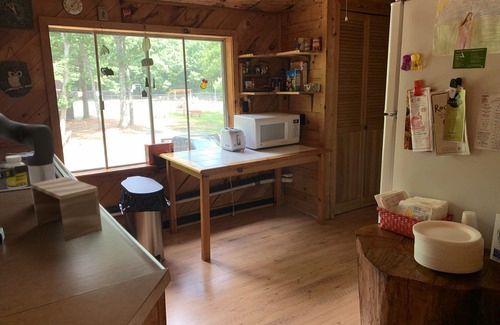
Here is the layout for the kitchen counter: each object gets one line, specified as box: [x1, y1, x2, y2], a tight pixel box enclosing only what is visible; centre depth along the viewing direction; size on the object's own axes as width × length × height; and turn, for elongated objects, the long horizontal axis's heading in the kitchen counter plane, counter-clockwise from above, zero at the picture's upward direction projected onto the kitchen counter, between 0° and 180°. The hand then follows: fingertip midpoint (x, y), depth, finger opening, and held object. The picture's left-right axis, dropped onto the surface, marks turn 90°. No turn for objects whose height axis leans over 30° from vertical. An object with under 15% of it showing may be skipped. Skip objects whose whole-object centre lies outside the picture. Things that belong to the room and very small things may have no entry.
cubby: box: [30, 176, 103, 243], centre depth 124 cm, size 23×12×15 cm, turn 51°
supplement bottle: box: [4, 154, 28, 190], centre depth 111 cm, size 5×5×10 cm
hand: (24, 166), depth 113 cm, fingers closed on supplement bottle, 5 cm apart
